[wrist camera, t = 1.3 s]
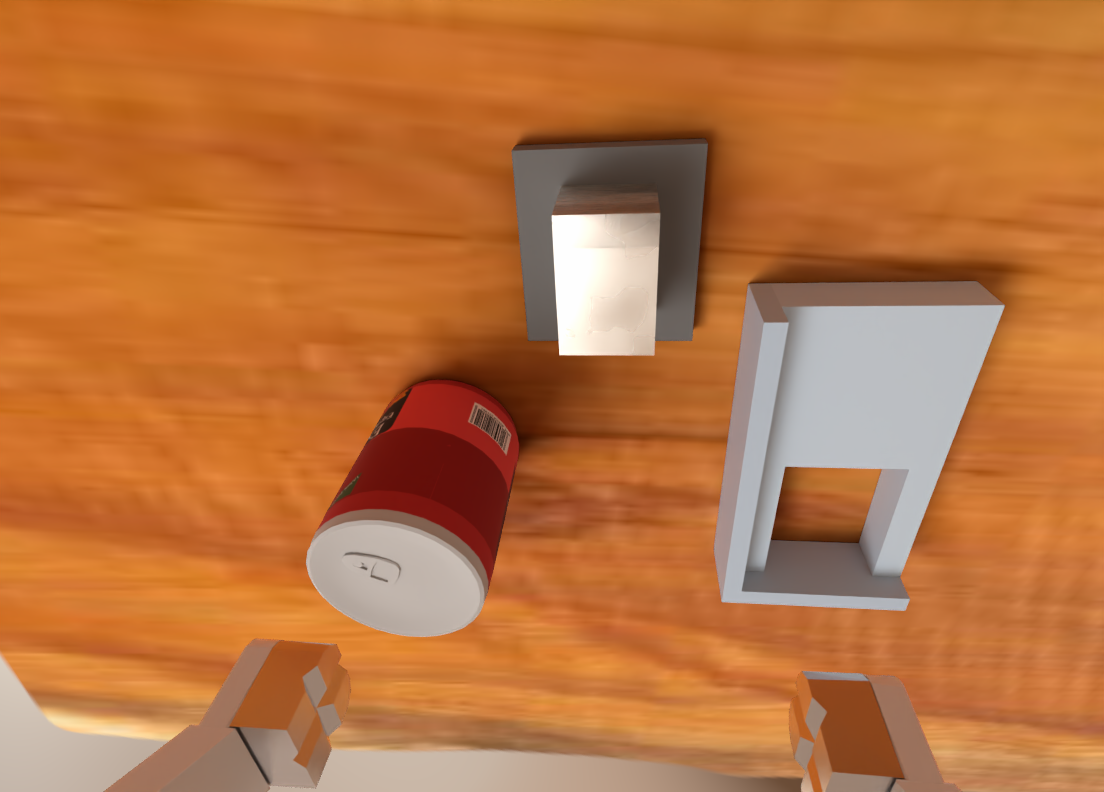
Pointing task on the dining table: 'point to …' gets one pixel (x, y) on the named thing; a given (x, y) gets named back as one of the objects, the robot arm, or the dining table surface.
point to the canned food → (420, 513)
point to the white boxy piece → (606, 268)
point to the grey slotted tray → (844, 427)
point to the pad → (606, 164)
